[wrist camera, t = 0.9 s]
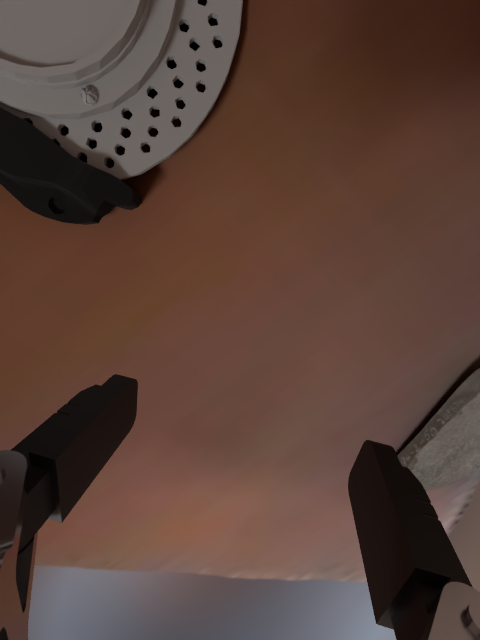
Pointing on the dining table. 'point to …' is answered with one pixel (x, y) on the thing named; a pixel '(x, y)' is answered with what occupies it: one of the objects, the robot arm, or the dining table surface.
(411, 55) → the dining table surface
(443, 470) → the stone
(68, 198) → the brake disc
